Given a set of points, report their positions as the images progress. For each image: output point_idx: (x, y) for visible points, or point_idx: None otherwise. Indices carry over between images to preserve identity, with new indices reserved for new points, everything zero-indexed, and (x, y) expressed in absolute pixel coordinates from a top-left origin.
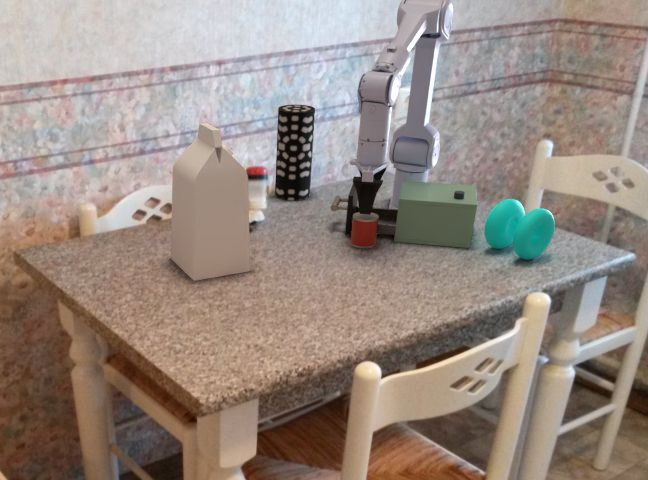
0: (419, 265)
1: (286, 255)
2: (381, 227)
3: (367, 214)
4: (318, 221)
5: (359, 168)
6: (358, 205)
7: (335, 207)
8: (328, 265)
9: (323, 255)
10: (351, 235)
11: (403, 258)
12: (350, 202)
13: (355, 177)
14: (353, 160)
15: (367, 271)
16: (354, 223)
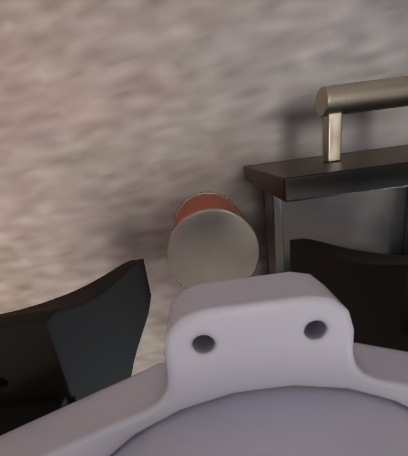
0: None
1: (20, 27)
2: (273, 267)
3: (230, 256)
4: (365, 43)
5: (2, 446)
6: (114, 269)
7: (321, 107)
8: (17, 176)
9: (80, 143)
10: (197, 198)
11: (153, 326)
12: (273, 187)
13: (17, 342)
14: (241, 353)
15: (34, 274)
16: (181, 217)
